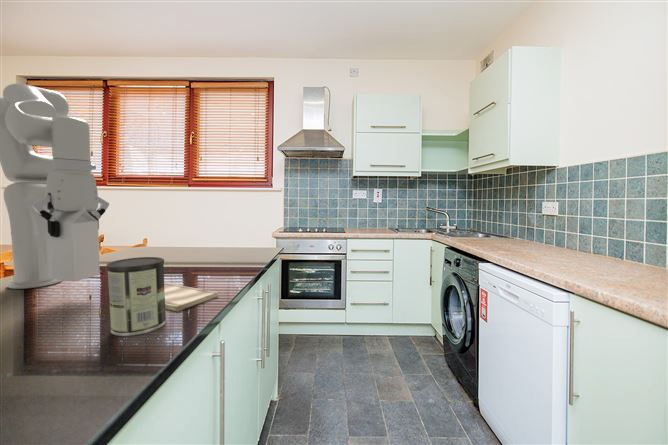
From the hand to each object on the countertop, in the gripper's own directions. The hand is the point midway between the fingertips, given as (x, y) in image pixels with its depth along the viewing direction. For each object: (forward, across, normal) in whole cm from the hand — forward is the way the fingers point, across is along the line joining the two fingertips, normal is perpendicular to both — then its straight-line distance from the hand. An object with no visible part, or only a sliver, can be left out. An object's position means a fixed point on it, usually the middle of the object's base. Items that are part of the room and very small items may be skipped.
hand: (74, 234), depth 83 cm
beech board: (+17, -12, +20) cm, 28 cm away
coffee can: (+17, +4, +32) cm, 36 cm away
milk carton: (+12, 0, 0) cm, 12 cm away
